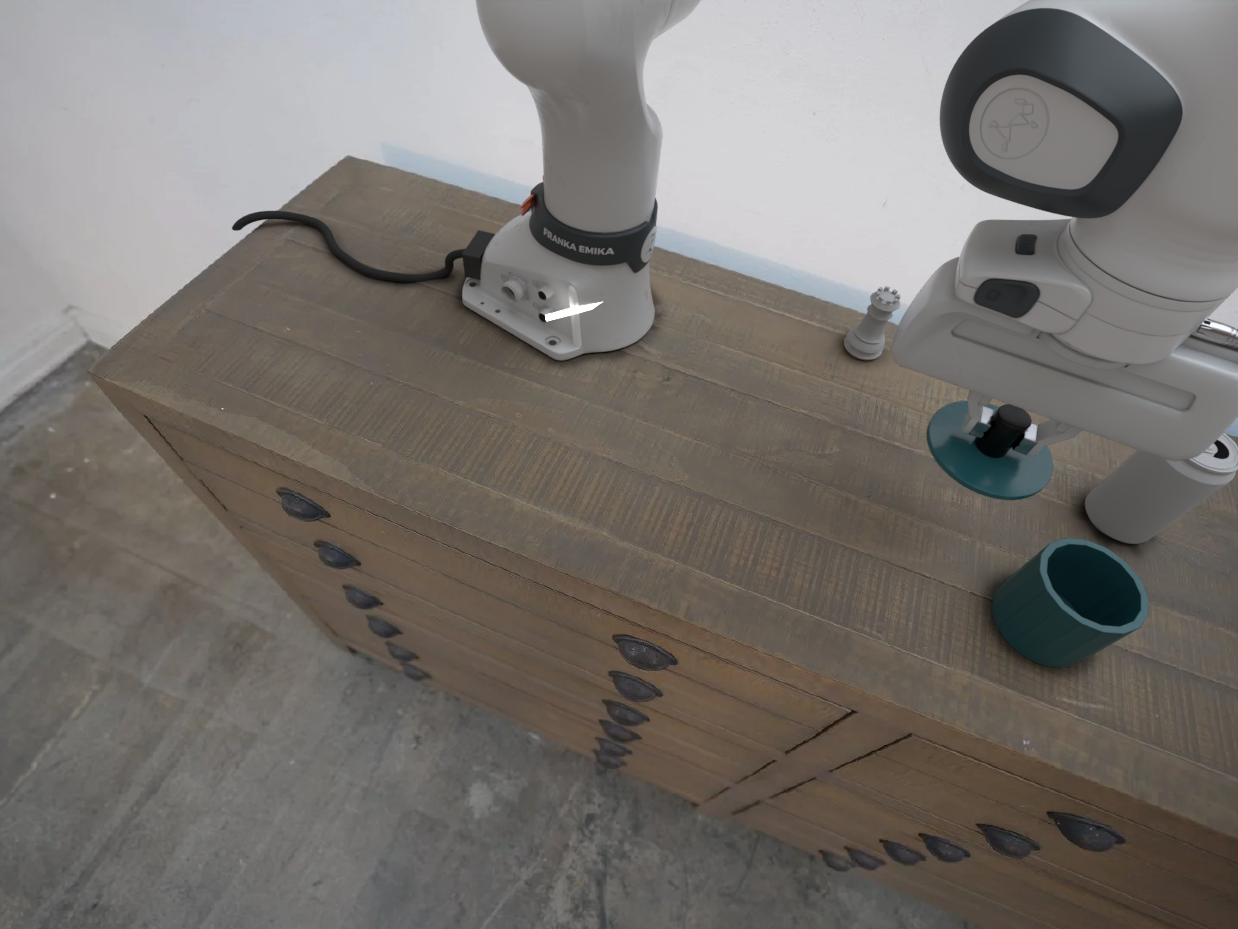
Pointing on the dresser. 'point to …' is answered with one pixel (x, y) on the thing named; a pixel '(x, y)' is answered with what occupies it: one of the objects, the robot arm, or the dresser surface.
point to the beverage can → (1158, 491)
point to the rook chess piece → (872, 325)
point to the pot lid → (988, 453)
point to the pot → (1069, 603)
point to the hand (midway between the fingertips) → (996, 438)
